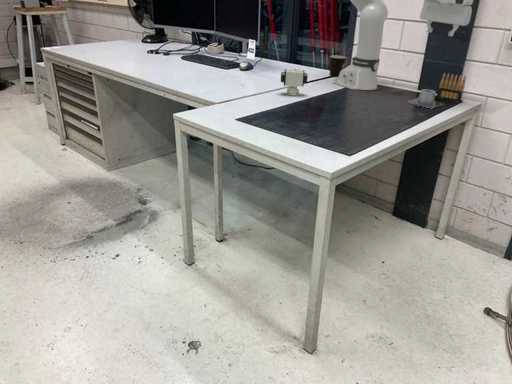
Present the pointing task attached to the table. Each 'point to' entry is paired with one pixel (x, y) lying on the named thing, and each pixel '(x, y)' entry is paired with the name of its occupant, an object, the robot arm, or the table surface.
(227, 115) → the table surface
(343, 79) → the robot arm
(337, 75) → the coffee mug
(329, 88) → the table surface
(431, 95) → the hub
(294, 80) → the pneumatic valve
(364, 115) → the table surface
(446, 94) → the ammunition clip
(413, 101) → the shaft stand
